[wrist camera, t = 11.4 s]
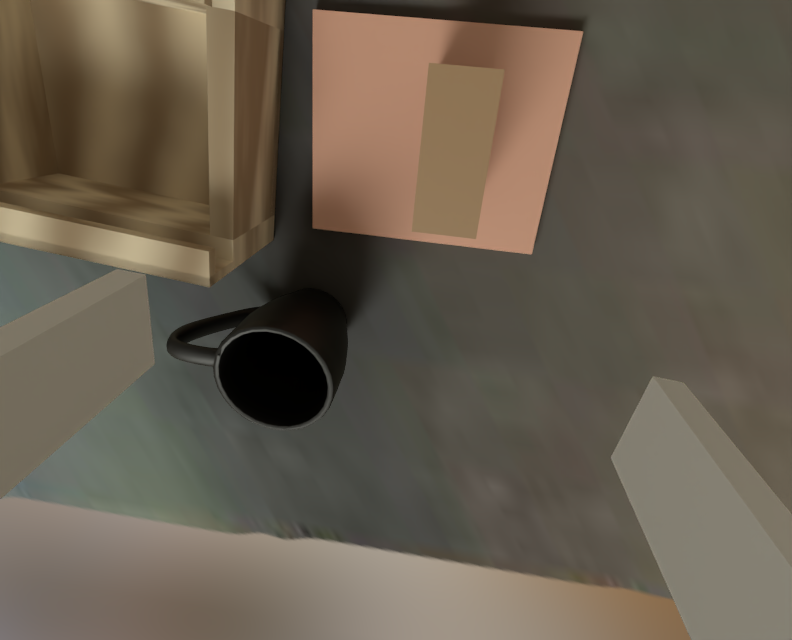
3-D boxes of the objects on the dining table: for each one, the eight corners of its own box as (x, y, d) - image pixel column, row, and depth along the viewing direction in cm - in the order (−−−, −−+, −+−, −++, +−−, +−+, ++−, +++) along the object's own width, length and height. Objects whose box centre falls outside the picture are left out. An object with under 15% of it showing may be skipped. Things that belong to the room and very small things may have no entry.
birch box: (55, 193, 35) (-81, 224, 26) (10, -60, 28) (-197, -135, 19) (273, 239, 35) (209, 287, 26) (285, -7, 27) (203, -59, 19)
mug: (228, 247, 36) (156, 293, 27) (371, 288, 36) (344, 347, 27) (221, 333, 39) (156, 397, 31) (351, 371, 39) (322, 445, 31)
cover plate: (317, 224, 34) (272, 262, 26) (318, 12, 28) (260, -25, 20) (529, 249, 33) (552, 297, 25) (578, 34, 27) (630, 3, 19)
